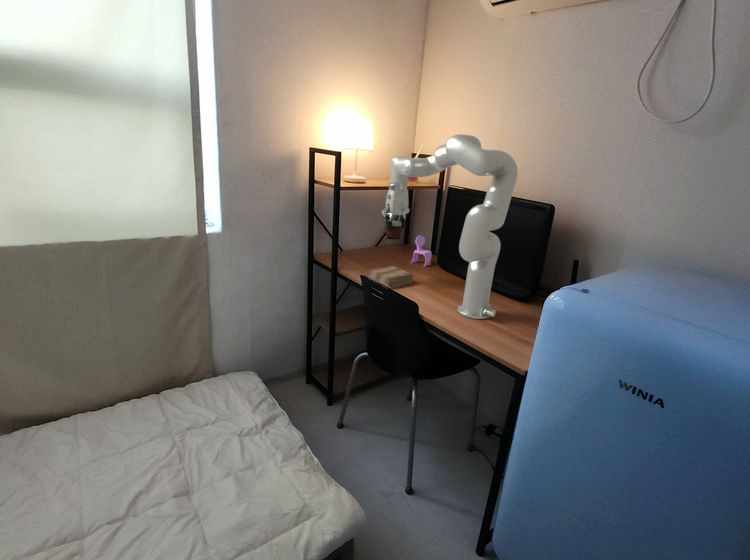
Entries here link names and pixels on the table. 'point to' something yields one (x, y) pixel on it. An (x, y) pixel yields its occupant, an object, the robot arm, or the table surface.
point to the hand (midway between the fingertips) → (394, 228)
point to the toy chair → (421, 251)
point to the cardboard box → (391, 276)
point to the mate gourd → (395, 229)
